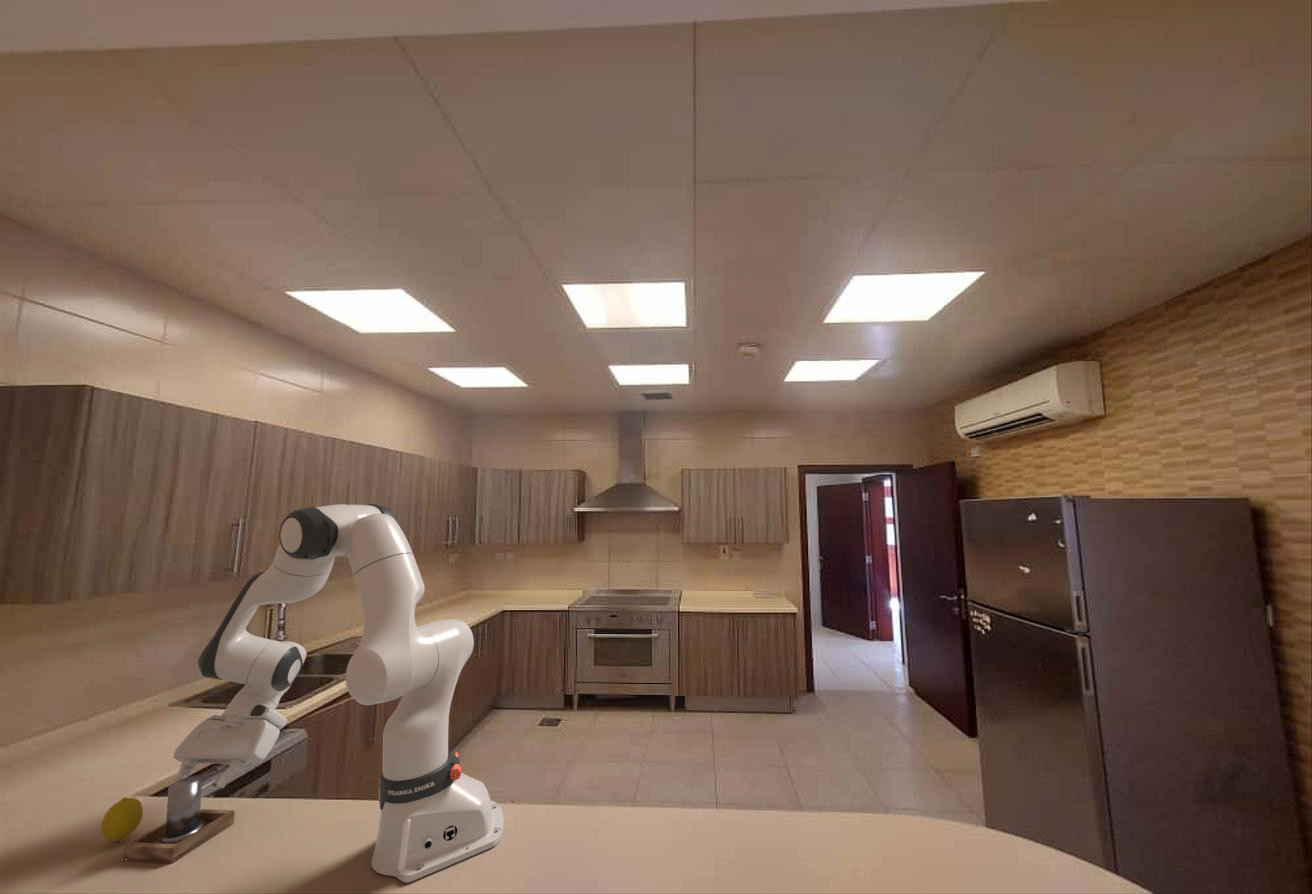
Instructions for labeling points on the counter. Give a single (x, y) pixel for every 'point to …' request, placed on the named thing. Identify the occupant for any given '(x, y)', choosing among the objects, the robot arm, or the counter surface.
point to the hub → (183, 809)
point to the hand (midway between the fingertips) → (197, 786)
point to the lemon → (122, 819)
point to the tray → (154, 851)
